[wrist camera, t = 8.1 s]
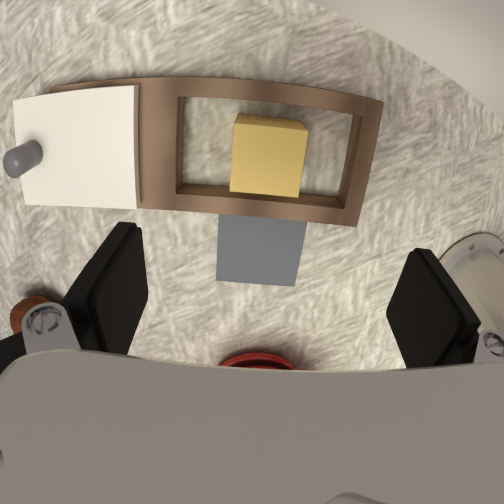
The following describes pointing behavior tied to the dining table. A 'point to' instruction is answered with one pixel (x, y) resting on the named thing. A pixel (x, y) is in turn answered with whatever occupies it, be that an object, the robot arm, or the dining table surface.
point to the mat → (259, 249)
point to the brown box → (220, 197)
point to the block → (267, 155)
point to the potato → (24, 311)
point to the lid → (78, 148)
